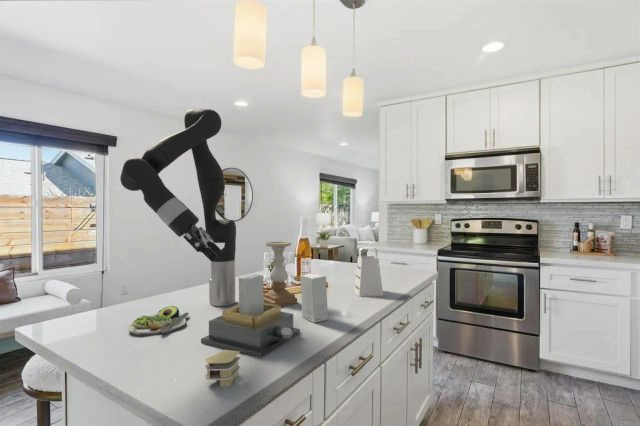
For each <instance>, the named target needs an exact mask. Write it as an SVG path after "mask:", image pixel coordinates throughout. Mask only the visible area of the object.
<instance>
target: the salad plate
mask: <svg viewBox="0 0 640 426" xmlns="http://www.w3.org/2000/svg"><path fill="white" fill-rule="evenodd" d="M189 314H190V312H184V313H182V312H180V309H179V308H178V307H177V306H174V305H170V306H166V307H163V308H161V309H160V310H159V311H158V312H157V313H156V314H154V315H142V316H138V317H137V318H134V319H132V320H131V321H130V322H129V327H128V332H129V333H131V334H133V335H136V336H141V337H142V336H152V335H154V336H155V335H161V334H165V333H169V332H173V331H175V330H179V329H180V328H182V327H183V326H185V324H186V323H187V320H186V318H187V317H188V315H189ZM138 329H149V330H150V331H139V330H138Z"/></svg>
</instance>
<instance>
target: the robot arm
mask: <svg viewBox="0 0 640 426" xmlns="http://www.w3.org/2000/svg"><path fill="white" fill-rule="evenodd" d="M183 120H184V130H181V131H179V132H176V133H174V134H171V135H169V136H166V137H165V138H162V139H161V140H159V141H158V142H156V143H155V144H153V145H152V146H151V147H149V148H148V149H146V151H145V152H144V154H143V155H142V156H141V158H140V157H130V158H128V159H127V160H126V161H125V162H124V163H123V166H122V169H121V174H120V177H119V178H120V180H119V181H120V183H121V185H122V186H123V187H124V188H125V189H126V190H128V191H132V192H137V191H141V193H142V195H143V200H144V202H145V203H146V205H148V207H149V208H151V210H152V211H153V212H154V213H155V214H156V215H157V216H158V218H160V220H161V221H162V222H163V223H164V224H165V225H166V226H167V227H168V228H169V229H170V230H171V231H172V232H173V233H174V234H175V235H176V236H177V237H179V238H180V237H182V236H183V239H184V240H185V241H186V242H187V243H188V244H190V246H192V248H193V249H194V250H195V251H196V252H197V253H201V254H203V255H204V256H205V257H206V258H207V259H208V260H209V261H210V279H208V282H209V283H208V286H209V287H208V289H209V290H208V291H209V292H208V293H209V294H208V295H209V297H208V299H209V303H208V304H210V305H212V306H213V307H226V306H232V305H234V304H235V303H236V239H237V225H236V222H235V221H234V220H232V219H217V216H216V215H217V214H216V212H217V211H216V210H217V207H218V204H219V202H220V201H221V198H222V197H223V195H224V192H225V189H226V184H225V178H224V172H223V169H222V166H220V163H219V162H218V160H217V159H216V157H214V155H213V153H212V152H211V149H210V147H209V145H208V140H209V139H211V138H214V136H216V135H217V134H219V133H220V131H221V128H222V119H221V116H220V114H219V113H218V112H217V111H215V110H213V109H209V108H190V109H188V110H187V111H186V113H185V114H184V119H183ZM190 150H191V152H192V156H193V163H194V167H195V171H196V177H197V178H196V179H197V183H198V188H199V193H200V198H201V203H202V209H203V214H204V215H203V216H204V217H203V218H204V228H205V229H204V228H203V227H201V226H199V227H198V226H196V225H197V224H198V223H199V221H200V219H199V217H198V216H197V215H196V214H195V213H194V212H193V211H192V210H191V209H190V208H189V207H188V206H187V205H186V204H185V202H184V203H183V201H181V200H180V199H179V198H178V197H177V196H176V195H175V194H174V193H173V192H172V191H171V190H169V189H168V187H166V184H164V181H163V180H162V178H161V177H160V175H159V174H160V173H161V172H162V171H163V170H164V169H166V168H167V167H168V166H170V165H171V164H172V163H174V162H175V161H176V160H177V159H178V158H180V157H181V156H182V155H183V154H186V153H187V152H188V151H190ZM220 243H221V244H224V246H223V248H220V247H219V246H218V245H217V244H220Z"/></svg>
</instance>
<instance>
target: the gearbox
mask: <svg viewBox="0 0 640 426" xmlns="http://www.w3.org/2000/svg"><path fill="white" fill-rule="evenodd" d="M281 307H282V306H279V305H273V304H266V303H264V312H263V313H261V314H258V315H256V316H252V315H246V314H241V313H239V304H237V305H235V306H232V307H229V308H227V309H224V310H222V311H221V315H220V316H217V317H215V318H213V319H210V320H208V335H206V336H203V337H202V338H200V343H201V344H203V345H209V346H212V347H215V348H220V349H223V350H232V351H240V353H239V354H245V355H247V356H253V357H257V358H260V359H262V358H263V357H265V356H267V355H268V354H269V353H271V352H273V351H274V350H275V349H276V350H277V348H279V347H280V346H282V345H284V344H285V343H286V342H288V341H289V340H292V339H293V338H294V337H296V336H298V335H299V334H300V333H301V329H300V328H297V327H294V313H290V312H285V311H283V312H282V311H281V310H282V308H281Z"/></svg>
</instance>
